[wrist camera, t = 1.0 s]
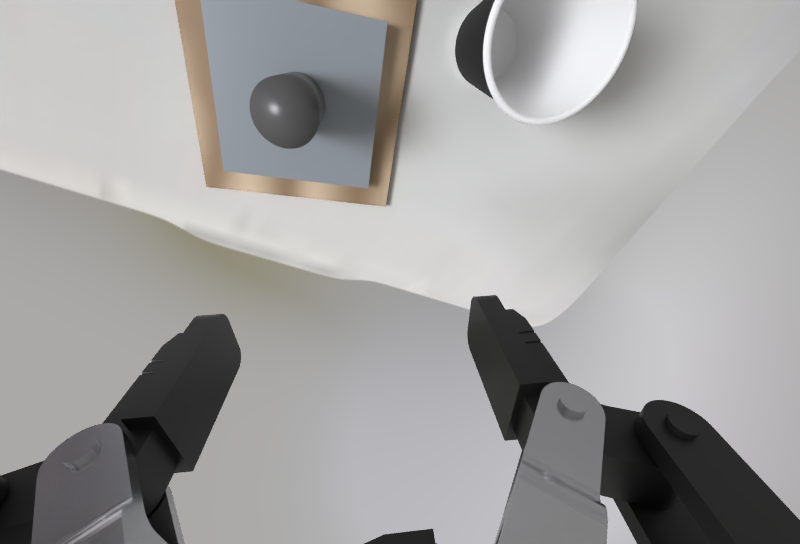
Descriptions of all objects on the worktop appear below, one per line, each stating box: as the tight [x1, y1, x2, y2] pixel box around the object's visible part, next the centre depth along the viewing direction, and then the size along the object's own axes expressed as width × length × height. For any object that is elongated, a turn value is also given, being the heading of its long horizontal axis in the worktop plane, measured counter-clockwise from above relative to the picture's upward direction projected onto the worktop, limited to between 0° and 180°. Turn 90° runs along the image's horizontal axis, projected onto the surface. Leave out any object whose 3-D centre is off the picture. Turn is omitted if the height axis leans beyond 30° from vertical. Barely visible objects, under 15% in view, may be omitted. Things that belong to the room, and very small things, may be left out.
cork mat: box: [175, 0, 417, 207], centre depth 25 cm, size 16×16×1 cm
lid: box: [200, 0, 387, 188], centre depth 22 cm, size 12×12×7 cm
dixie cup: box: [455, 0, 638, 125], centre depth 20 cm, size 8×8×11 cm
